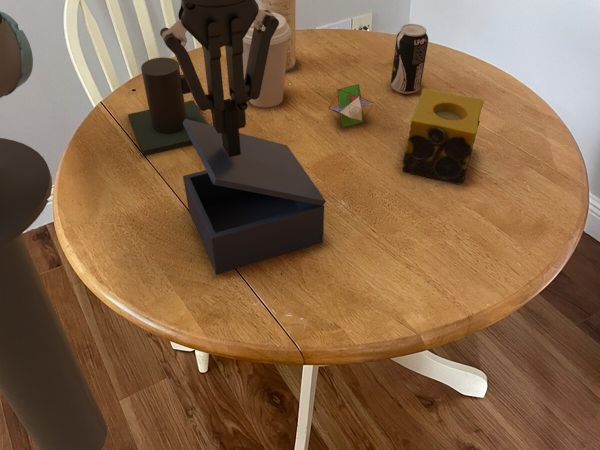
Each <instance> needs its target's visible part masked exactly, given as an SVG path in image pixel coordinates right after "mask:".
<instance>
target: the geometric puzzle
mask: <svg viewBox="0 0 600 450" xmlns="http://www.w3.org/2000/svg"><path fill="white" fill-rule="evenodd" d="M363 91H364V93H366V92H365V90H363ZM366 96H368V94H366ZM368 97H369V96H368ZM337 98H338V99H337ZM336 99H337V100H338V101H337V102H338V104H339V105H337V106H333V107H331V106H332V105H333V103H334V102H335V100H336ZM367 105H371V106H373V105H374V102H373V101H370V100H368V99H365V98H364V97H362V93H361V86H360V83H357V84H353V85H349V86H346V87H342V88H337V95H336V97H335V98H334V99H333V100H332V101H331V102H330V105H328V108H327V110H330V111H333V112H335V113H337V114H339V117H340V119H341V120H340V122H341V128H345V127H349V126H353V125H356V124H360V123H364V121H365V120H364V114H363V113H364V111H363V107H364V106H367ZM369 111H370V110H368V111H367V112H366V115H368V114H369ZM333 116H334V115H333ZM334 118H336V117H335V116H334ZM336 120H337V121H338V122H339V120H338V119H336Z"/></svg>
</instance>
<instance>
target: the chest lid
mask: <svg viewBox="0 0 600 450" xmlns="http://www.w3.org/2000/svg"><path fill="white" fill-rule="evenodd" d="M183 125H184V127H185V129H186V131H187V133H188V135H189V137H190V139H191V141H192V143H193V144H192V145H193V147H194V149H195V151H196V153H197V156H198V157H199V160H200V161H201V163H202V165H203V167H204V170H206V171H207V173H208V175H209V177H210V179H211V181H212V183H213V185H218V186H223V187H228V188H233V189H238V190H244V191H249V192H254V193H259V194H264V195H269V196H275V197H280V198H285V199H290V200H295V201H301V202H306V203H311V204H316V205H321V206H323V205H324V206H325V204H326V202H327V200H326V199H325V197H324V196H323V194H322V192H321V191H320V190H319V188H318V187H317V186H316V184H315V183H314V181H313V180H312V179H311V177H310V176H309V174H308V173H307V171H306V170H305V169H304V167H303V165H301V163H300V162H299V160H298V159H297V158H296V156H295V154H294V153H293V152H292V150H291V149H290V148H289V146H288V145H287V144H284V143H281V142H277V141H272V140H268V139H265V138H261V137H259V136H258V137H257V136H254V135H249V134H246V133H242V132H239V138H240V150H241V155H237V156H233V157H229V155H228V154H227V152H226V150H225V148H224V147H223V142H222V133H219V134H218V133H217V131H216V129H215V128H214V126H213V124H211V125H210V124H207V123H206V124H204V123H200V122H196V121H192V120H189V119H185V120H184V122H183Z"/></svg>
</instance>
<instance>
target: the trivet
mask: <svg viewBox="0 0 600 450" xmlns="http://www.w3.org/2000/svg"><path fill="white" fill-rule="evenodd" d="M184 102H185V109H186V116H187V119H189V120H192V121H196V122H200V123H204V124H207V122H206V120H205V119H204V117H203V115H202V113H201V110H200V108H199V107H198V105H197V103H196V101H195V100H194V99H193V100H188V101H184ZM127 117H128V120H129V122H130V126H131V127H132V130H133V133H134V135H135V138H136V140H137V143H138V145H139V148H140V151H141V154H142V156H145V157H146V156H149V155H153V154H157V153H162V152H166V151H170V150H174V149H179V148H183V147H187V146H191V145H193V143H192V141H191V139H190V137H189V135H188V133H187V131H186V129H185V128H184V129H183V130H181V131H179V132H177V133H172V134H163V133H159V132H157V131H155V130H154V129H153V126H152V121H151V116H150V111H149V109H145V110H139V111H136V112H131V113H127Z"/></svg>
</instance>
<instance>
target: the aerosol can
mask: <svg viewBox="0 0 600 450" xmlns="http://www.w3.org/2000/svg"><path fill="white" fill-rule="evenodd" d="M258 3H259V9H261V10H263V11H264V10H269V11H270V12H274V13H277V14H280V15H282V16H283V17H284V18H285V19H286V22H287V23H288V25H289V27H290V30H291V35H290V37H289V38H288V44H287V55H286V68H285V73H288V72H292V70H294V69H295V67H296V12H297V11H296V6H297V5H296V4H297V3H296V0H259V2H258Z"/></svg>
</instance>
